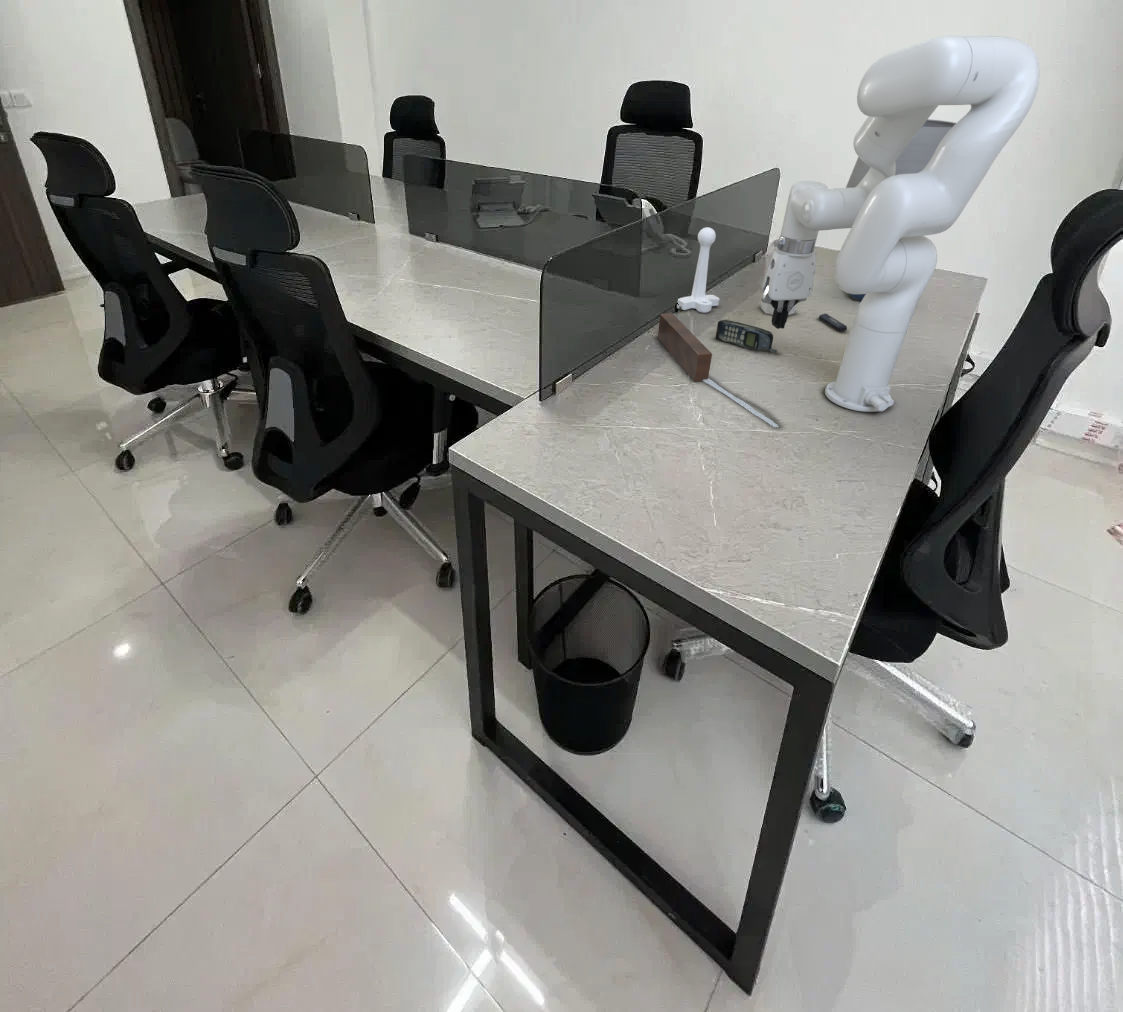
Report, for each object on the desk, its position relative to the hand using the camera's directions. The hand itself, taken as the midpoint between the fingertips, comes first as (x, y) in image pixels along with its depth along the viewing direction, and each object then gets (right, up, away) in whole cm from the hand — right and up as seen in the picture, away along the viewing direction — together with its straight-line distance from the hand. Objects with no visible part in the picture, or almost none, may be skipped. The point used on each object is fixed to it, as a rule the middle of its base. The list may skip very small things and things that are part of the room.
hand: (777, 326), depth 153 cm
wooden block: (-24, -9, -5) cm, 26 cm away
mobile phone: (-7, -5, +1) cm, 9 cm away
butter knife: (-16, -20, -20) cm, 33 cm away
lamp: (+35, +16, +31) cm, 50 cm away
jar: (+7, +10, +21) cm, 24 cm away
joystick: (-14, +10, +21) cm, 27 cm away
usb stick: (+18, +4, +13) cm, 23 cm away
